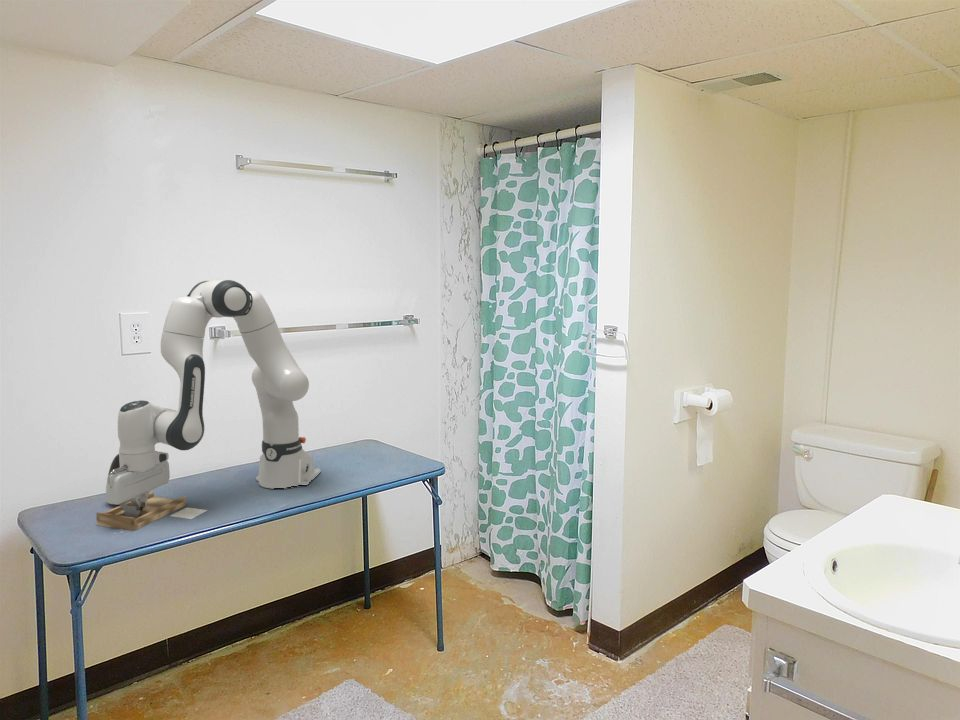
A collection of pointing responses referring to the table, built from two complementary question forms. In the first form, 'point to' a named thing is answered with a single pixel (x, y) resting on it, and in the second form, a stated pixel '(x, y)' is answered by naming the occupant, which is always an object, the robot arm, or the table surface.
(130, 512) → the clip
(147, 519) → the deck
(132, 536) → the table surface
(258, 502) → the table surface
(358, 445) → the table surface
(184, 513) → the white square plate
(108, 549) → the table surface
